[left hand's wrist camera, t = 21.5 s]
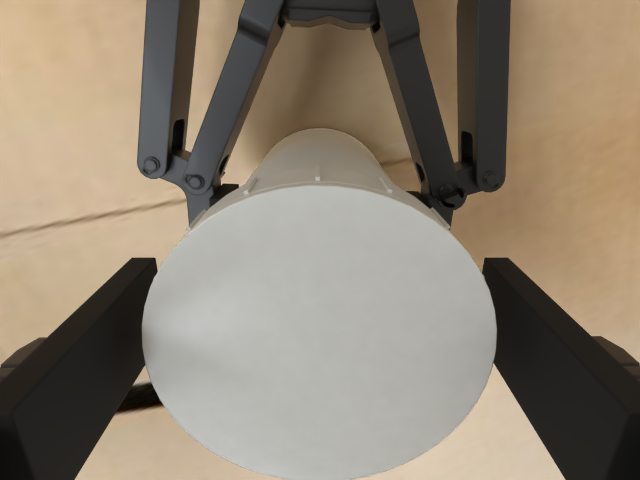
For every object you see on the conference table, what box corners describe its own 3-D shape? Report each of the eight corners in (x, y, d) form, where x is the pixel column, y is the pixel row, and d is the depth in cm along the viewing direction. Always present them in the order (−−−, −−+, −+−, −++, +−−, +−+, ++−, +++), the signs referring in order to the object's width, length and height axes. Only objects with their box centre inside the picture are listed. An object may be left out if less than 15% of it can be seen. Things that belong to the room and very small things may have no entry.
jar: (242, 138, 24) (130, 221, 10) (377, 117, 24) (464, 173, 9) (268, 261, 27) (212, 460, 13) (389, 244, 26) (469, 431, 12)
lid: (305, 86, 10) (302, 87, 8) (535, 305, 12) (575, 346, 10) (109, 324, 12) (71, 367, 10) (330, 468, 15) (331, 525, 13)
